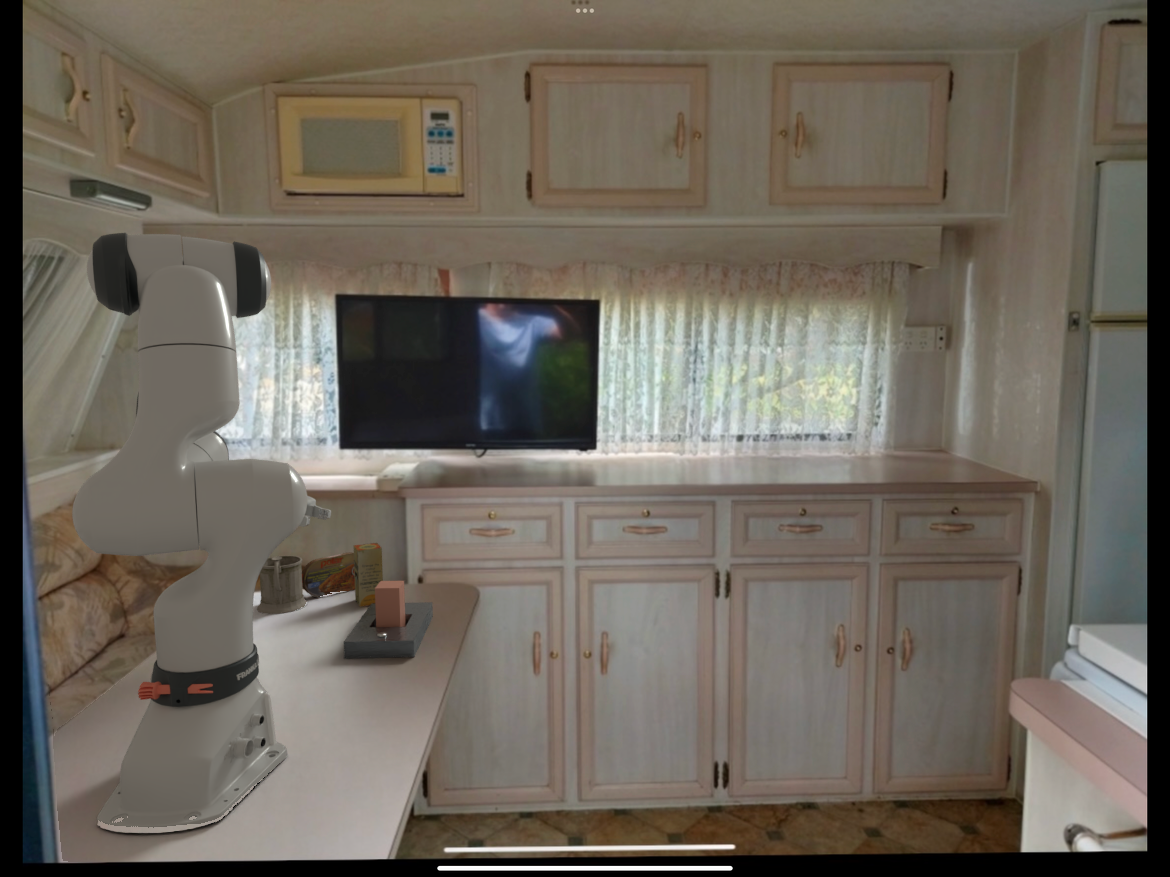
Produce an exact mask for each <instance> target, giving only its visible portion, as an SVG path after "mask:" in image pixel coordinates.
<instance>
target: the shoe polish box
mask: <svg viewBox="0 0 1170 877" xmlns="http://www.w3.org/2000/svg"><path fill="white" fill-rule="evenodd" d="M382 552H383V549H382V546H381V545H380V544H379V543H378V542H370V543H363V544H354V545H353V553H354V574H355V590H354V593H355V601H357V602H356V604H357V605H358V606H359V608H361V607H362V606H363V607H368V606H370V605H371V604H372V603H375V588H376V586H377V585H378V584H379V582H380V581H384V579H383V578H384V574H383V553H382ZM363 607H362V608H363Z"/></svg>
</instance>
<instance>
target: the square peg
mask: <svg viewBox="0 0 1170 877" xmlns="http://www.w3.org/2000/svg"><path fill="white" fill-rule="evenodd" d="M405 596H406V595H405V580H383V581H380V582H379V584H378V585H377V586H376V588H375V606H376V627H406V625H405V603H406V602H405V600H406V599H405V598H406V597H405Z"/></svg>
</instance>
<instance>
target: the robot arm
mask: <svg viewBox="0 0 1170 877" xmlns="http://www.w3.org/2000/svg"><path fill="white" fill-rule="evenodd" d="M86 276H87V279H88V280H87V281H88V283H89V286H90V288H91V290H92V292H93V293H94V294H95V297H96V299H97V302H99V303H100V304H101V305H102V306H104V307H105V308H106V309H108V310H109V311H114V312H117V313H121V314H124V315H126V316H129V317H130V316H132V314H135V313H138V320H137V321H138V322H137V356H138V358H137V359H138V361H137V362H138V394H137V398H136V409H135V421H134V424H133V427H132V430H131V431H130V434H129V436H128V438H127V439H126V441H125V443H124V444H123V445H122V447H121V449H120V450H119V451H118V452H117V454H115V456H113V458H112V459H111V460H110V461H109V462H107V463H106V465H104V466H102V468H100V469H98V471H97V472H94V473H93V474H92V475H91V476H89V477H88V478H87V479H86V480H85V481H84V483H83V484H82V485H81V486H80V488H79V489H78V491H77V493H76V494H75V498H74V500H73V503H72V504H73V505H72V512H71V514H72V515H71V517H72V523H73V527H74V530H75V532H76V534H77V535H78V538H79V539H80V540H81V542H83V544H84V545H86V547H87V548H89V549H90V550H91V551H92V552H94V553H96V554H102V555H114V556H115V555H116V556H135V557H136V556H137V557H141V556H150V555H151V556H153V555H161V554H162V555H163V554H171V553H180V552H189V551H198V550H200V551H205V552H207V555H208V556H207V558H206V560H205V561H204V563H203V564H201V565H200V566H199V568H197V569H196V570H194V571H192V572H191V573H189V574H187V575H186V576H185V575H184V576H183V577H182V578H180V579H178V580H176V581H175V582H173V583H172V584H170V585H169V586H168V587H167V588H166V589H164V591H162V593H160V595H159V596H158V597H157V599H156V601H155V604H154V607H153V623H154V637H155V638H154V639H155V651H156V652H155V653H156V654H155V655H156V660H155V661H154V663H153V668H152V673H151V674H150V681H143V682H141V683H140V685H139V688H138V689H137V692H138V693H137V695H138V699H139V700H143V701H144V700H150V702H149V704H148V706H147V708H146V710H145V713H144V714H143V715H142V718H141V720H140V722H139V724H138V727H137V728H136V731H135V733H134V735H133V737H132V740H131V742H130V744H129V746H128V749H127V750H126V752H125V754H124V757H123V759H122V761H121V766H120V773H119V774H120V777H119V783H118V784H117V786H116V787H115V788H114V790H113V791H112V793H111V794H110V796H109V798H108V799H107V800H106V802H105V803H104V804H103V807H102V808H101V810H100V811H99V813H98V815H97V817H96V821H97V820H99V821H100V822H101V821H102V822H103V823H105V824H108V825H109V824H110V825H114V826H126V827H131V826H132V827H133V826H134V827H135V826H136V827H137V826H138V827H148V828H149V827H153V828H154V827H167V826H176V825H187V824H201V823H205V822H208V821H212V820H215V819H217V818H219V817H221V816H222V815H224V813H225V812H226V811H227V810H229V808H231V807H232V805H233V804H235V802H237V801H238V800H239V799H240V798H241V796H243V795H244V794H245V793H246V792H247V791H248V790H250V788H251V787H252V786H254V785H255V784H256V783H258V782H259V781H260V780H261V779H263V777H265V776H266V775H267V774H268V773H269V772H270V771H271V770H273V769H274V768H275V767H276V766H277V765H278V764H279V763H280V764H281V763H282V762H284V760H285V759H286V758H287V757H288V749H287V748H288V747H287V746H286V745H284V744H283V743H281V742H279V741H277V734H276V727H275V720H274V719H275V718H274V713H273V711H274V710H273V705H272V697H271V694H270V693H269V691H267V690H266V689H265V688H264V687H263V684H261V682H260V680H259V678H258V676H259V673H260V666H259V664H260V656H259V653H258V648H257V645H256V644H255V643H254V623H253V620H254V615H253V614H254V598H255V597H254V596H255V590H256V585H257V581H258V579H259V577H260V571H261V569H262V567H263V565H264V564H265V562H266V561H267V559H268V558H270V556H271V554H272V553H273V552H274V551H275V550H276V549H277V548H278V546H280V544H282V543H283V541H285V540H286V539H287V538H289V537H290V536H292V534H293V533H294V532H295V531H296V530H297V529H298V528H299V527H303V528H304V527H307V526H309V525H310V523H311V518H313V517H314V518H317V519H319V520H324V521H325V520H326V521H327V520H329V519H331V517H332V510H331V509H329V508H324V507H321V506H318V505H317V500H316V498H314V497H312V496H310V495H308V491H307V486H306V484H305V482H304V480H303V478H302V477H301V475H300V474H299V473H298V471H297V470H296V469H295V468H294V467H293V466H291V465H290V464H289V463H288V462H280V461H274V460H263V459H256V458H245V459H243V458H242V459H229V458H230V456H229V455H230V454H229V447H228V445H227V443H226V441H225V439H224V438H223V437H222V436H221V435H220V433H218V432H217V430H218V431H219V430H220V429H221V428H223V427H224V426H226V425H227V424H229V423H230V422H231V421H232V420H233V419H234V418H235V416H236V415H237V413H238V411H239V408H240V388H239V376H238V374H239V372H238V355H237V345H236V334H235V329H234V322H233V317H236V318H237V319H240V318H247V317H253V316H255V315H256V316H257V315H258V314H259V313H261V311H263V310H264V309H265V308H266V305H267V302H268V300H269V297H270V294H271V291H272V276H271V272H270V268H269V266H268V264H267V262H266V260H265V256H264V254H263V253H262V252H261V251H260V250H259V249H258V248H257V247H255V246H254V245H251V244H247V243H243V242H239V241H233V242H232V243H231V242H225V241H221V240H215V239H209V238H202V237H201V238H200V237H193V236H182V234H173V233H172V234H171V233H169V234H167V233H165V234H163V233H146V234H145V233H143V234H128V233H127V232H118V233H109V234H104V235H100V236H99V237H98V238H97V239H96V240H95V241H94V242H93V244H92V249H91V251H90V253H89V255H88V259H87V262H86ZM280 764H279V765H280ZM279 765H278V766H279ZM278 766H277V767H278ZM277 767H276V768H277ZM276 768H275V769H276ZM275 769H274V770H275ZM274 770H273V771H274ZM266 777H267V776H266ZM266 777H265V778H266ZM263 780H264V779H263ZM127 816H128V818H127ZM192 816H195V817H197V818H196V819H193V820H189V818H190V817H192ZM121 817H122V818H124V819H123V820H122V822H121V821H120V822H117V823H116V822H115V823H114V821H115V820H116V819H118V818H121ZM112 821H113V823H112Z"/></svg>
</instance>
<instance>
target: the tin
mask: <svg viewBox="0 0 1170 877" xmlns="http://www.w3.org/2000/svg"><path fill="white" fill-rule="evenodd" d="M302 590H304V592H306V593H307V594H309V595H311V596H312V597H315V598H318V597H320V596H323V595H327V594H332V593H330V592H340V591H347V592H351V591H355V574H354V552H343V553H339V554H334V555H330V556H324V557H320V558H315V559H313V560H311V561H309V562H308V563H307V564H305V567H303V569H302Z"/></svg>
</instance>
